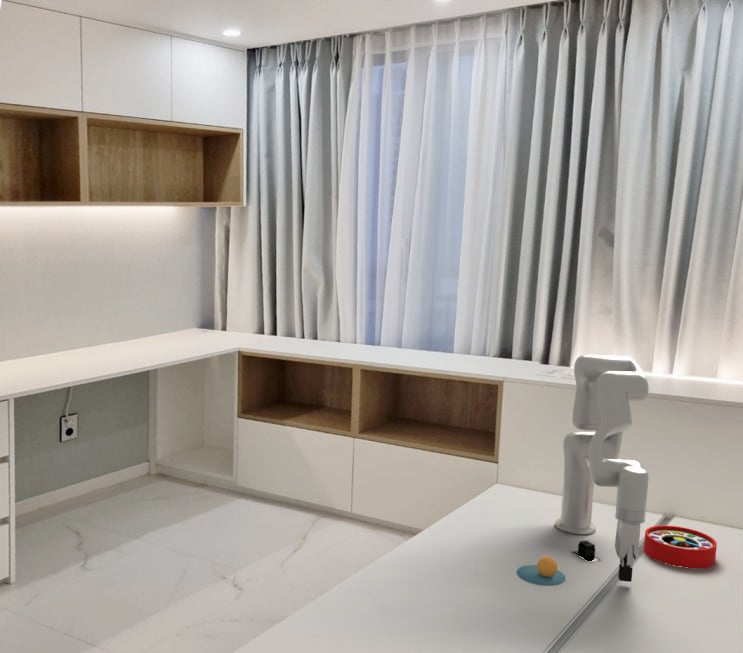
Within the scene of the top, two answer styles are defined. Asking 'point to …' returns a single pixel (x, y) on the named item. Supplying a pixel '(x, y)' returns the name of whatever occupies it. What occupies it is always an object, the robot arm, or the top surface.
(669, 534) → the toy clock
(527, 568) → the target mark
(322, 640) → the top surface
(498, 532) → the top surface
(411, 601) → the top surface
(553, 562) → the ball
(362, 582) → the top surface
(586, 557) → the black boxy piece
